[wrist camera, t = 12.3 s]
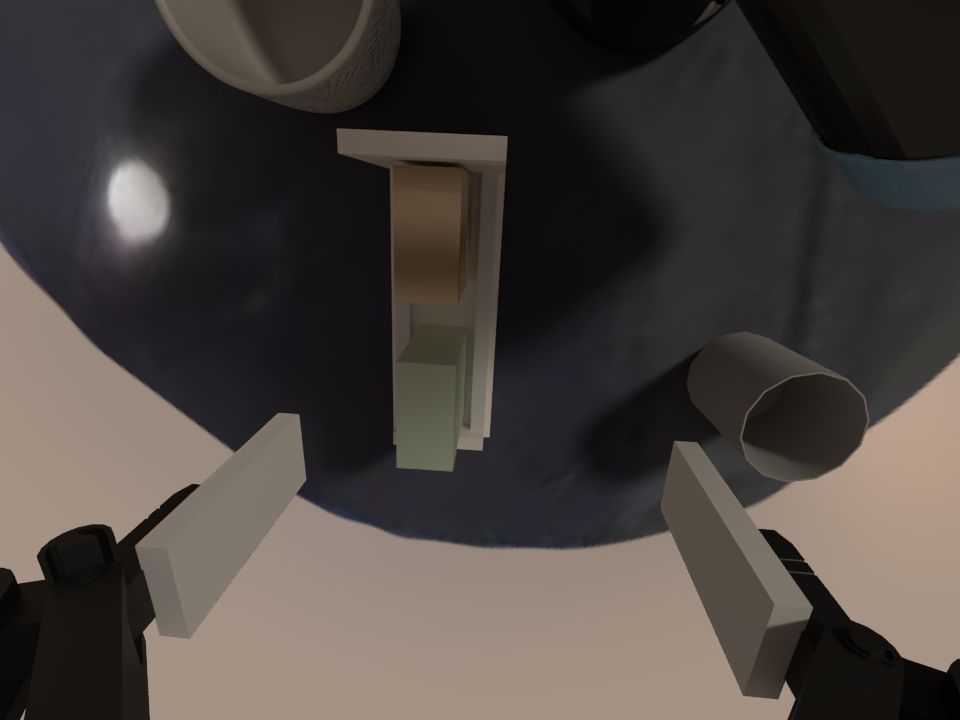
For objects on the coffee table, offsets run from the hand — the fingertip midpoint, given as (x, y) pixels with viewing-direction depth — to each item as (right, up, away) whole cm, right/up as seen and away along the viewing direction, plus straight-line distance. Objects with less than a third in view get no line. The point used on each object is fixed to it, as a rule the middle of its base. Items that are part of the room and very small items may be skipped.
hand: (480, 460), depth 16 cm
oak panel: (-3, +14, +21) cm, 25 cm away
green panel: (-3, +3, +25) cm, 25 cm away
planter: (-11, +28, +18) cm, 35 cm away
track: (-3, +8, +24) cm, 26 cm away
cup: (+23, +2, +25) cm, 34 cm away
